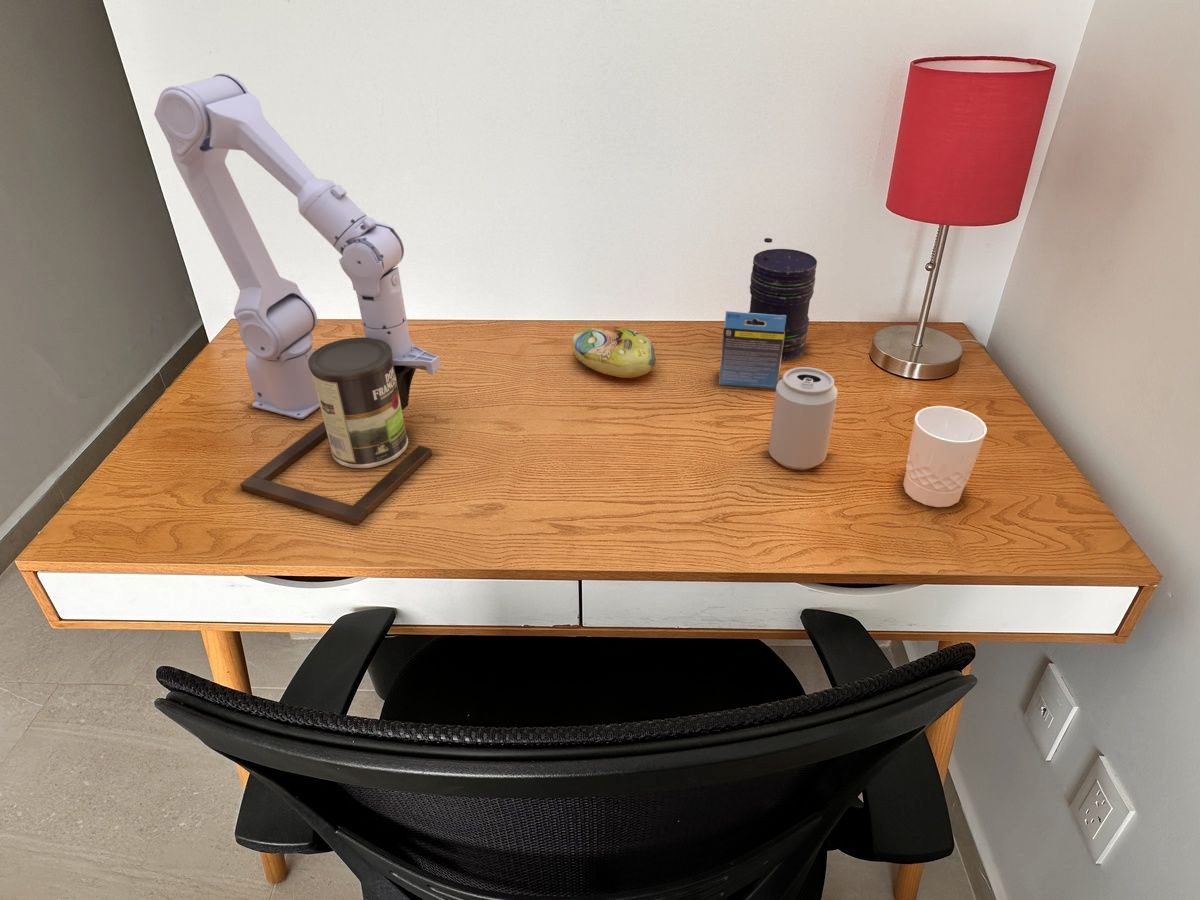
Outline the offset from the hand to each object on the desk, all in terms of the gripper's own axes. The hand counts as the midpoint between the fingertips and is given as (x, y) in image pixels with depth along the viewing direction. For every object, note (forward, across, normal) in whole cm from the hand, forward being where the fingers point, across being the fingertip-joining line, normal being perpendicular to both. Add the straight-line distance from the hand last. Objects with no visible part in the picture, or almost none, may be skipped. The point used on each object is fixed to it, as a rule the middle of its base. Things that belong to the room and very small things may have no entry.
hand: (400, 407), depth 113 cm
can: (+2, -54, -12) cm, 55 cm away
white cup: (+2, -71, -11) cm, 72 cm away
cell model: (+2, -22, -26) cm, 34 cm away
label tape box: (+2, -43, -29) cm, 52 cm away
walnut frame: (+2, 0, +13) cm, 13 cm away
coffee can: (+2, 0, +8) cm, 8 cm away
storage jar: (+2, -44, -42) cm, 61 cm away
